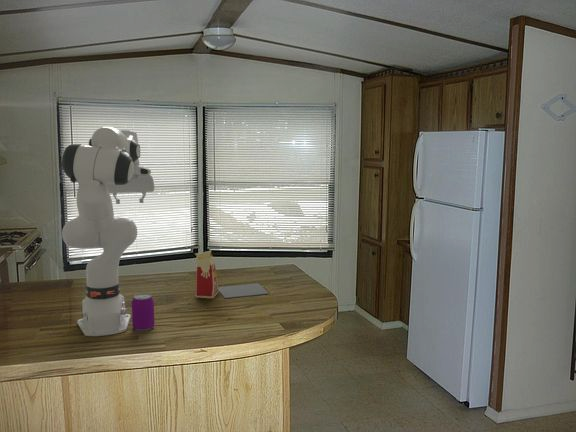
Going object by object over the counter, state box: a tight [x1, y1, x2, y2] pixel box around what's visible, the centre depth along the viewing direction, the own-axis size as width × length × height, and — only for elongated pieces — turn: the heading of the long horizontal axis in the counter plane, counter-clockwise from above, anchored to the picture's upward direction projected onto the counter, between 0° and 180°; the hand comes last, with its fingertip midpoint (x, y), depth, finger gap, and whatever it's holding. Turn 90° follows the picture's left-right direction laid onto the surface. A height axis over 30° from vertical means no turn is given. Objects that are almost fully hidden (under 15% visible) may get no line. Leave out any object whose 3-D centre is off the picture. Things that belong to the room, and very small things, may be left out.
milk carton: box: [194, 250, 220, 299], centre depth 227 cm, size 9×9×20 cm
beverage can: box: [131, 292, 155, 332], centre depth 189 cm, size 8×8×12 cm
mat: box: [218, 282, 270, 299], centre depth 235 cm, size 16×20×1 cm
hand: (129, 203), depth 219 cm, fingers open, 8 cm apart
